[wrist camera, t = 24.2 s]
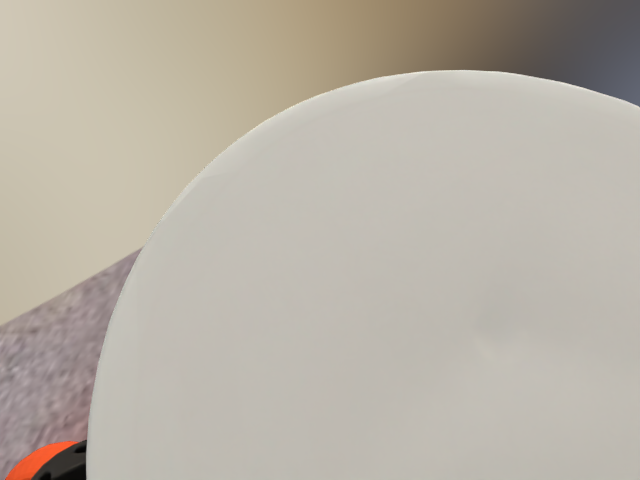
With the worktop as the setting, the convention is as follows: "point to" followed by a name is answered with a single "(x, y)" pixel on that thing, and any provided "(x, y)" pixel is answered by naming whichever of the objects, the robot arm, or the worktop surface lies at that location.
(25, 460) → the clementine
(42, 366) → the worktop surface
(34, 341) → the worktop surface
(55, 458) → the robot arm
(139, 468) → the supplement tub
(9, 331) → the worktop surface
